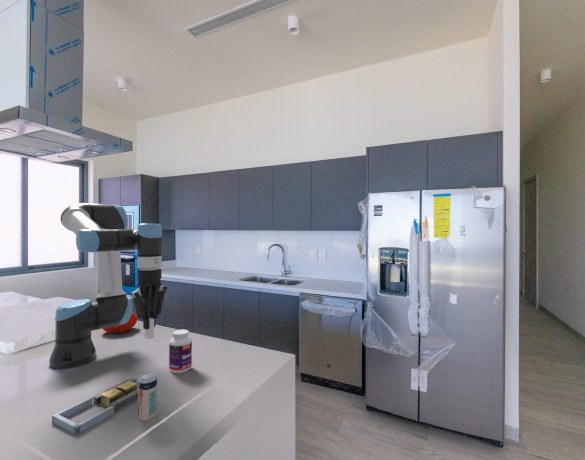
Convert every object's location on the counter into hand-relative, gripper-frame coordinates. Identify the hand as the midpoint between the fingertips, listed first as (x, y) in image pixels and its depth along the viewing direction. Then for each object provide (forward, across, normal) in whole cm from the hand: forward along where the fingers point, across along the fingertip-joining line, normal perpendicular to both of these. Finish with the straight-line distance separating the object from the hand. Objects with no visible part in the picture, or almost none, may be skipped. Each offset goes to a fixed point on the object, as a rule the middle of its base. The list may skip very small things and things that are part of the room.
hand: (149, 337), depth 102 cm
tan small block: (+16, -13, 0) cm, 20 cm away
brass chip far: (+16, -8, 0) cm, 18 cm away
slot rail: (+16, -9, 0) cm, 19 cm away
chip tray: (+16, -20, 0) cm, 26 cm away
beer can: (+17, -12, -14) cm, 25 cm away
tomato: (+16, +30, +59) cm, 68 cm away
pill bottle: (+17, +13, -1) cm, 21 cm away
